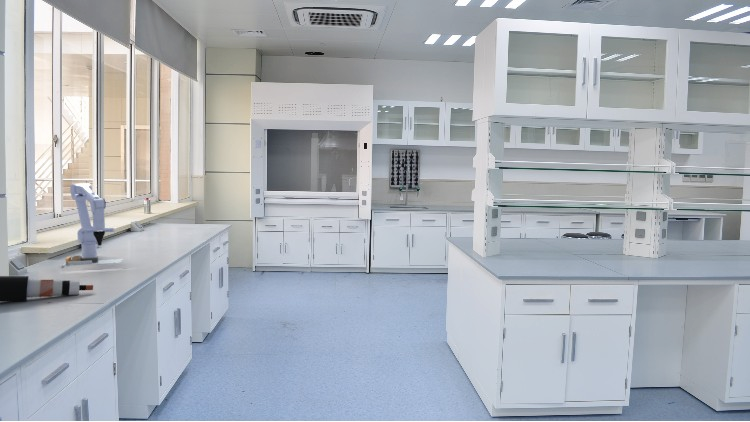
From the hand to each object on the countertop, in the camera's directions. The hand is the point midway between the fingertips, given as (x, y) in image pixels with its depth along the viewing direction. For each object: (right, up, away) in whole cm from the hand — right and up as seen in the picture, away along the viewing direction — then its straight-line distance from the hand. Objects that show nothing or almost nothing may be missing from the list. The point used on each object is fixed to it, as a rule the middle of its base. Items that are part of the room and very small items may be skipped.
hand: (99, 245), depth 288 cm
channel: (-2, -10, -3) cm, 11 cm away
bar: (-4, -9, -3) cm, 10 cm away
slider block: (-9, -9, -5) cm, 14 cm away
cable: (+15, -18, -71) cm, 74 cm away
